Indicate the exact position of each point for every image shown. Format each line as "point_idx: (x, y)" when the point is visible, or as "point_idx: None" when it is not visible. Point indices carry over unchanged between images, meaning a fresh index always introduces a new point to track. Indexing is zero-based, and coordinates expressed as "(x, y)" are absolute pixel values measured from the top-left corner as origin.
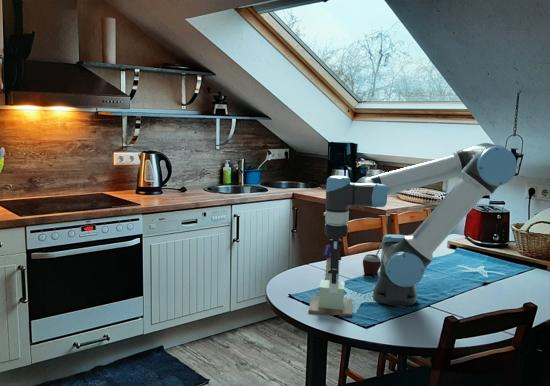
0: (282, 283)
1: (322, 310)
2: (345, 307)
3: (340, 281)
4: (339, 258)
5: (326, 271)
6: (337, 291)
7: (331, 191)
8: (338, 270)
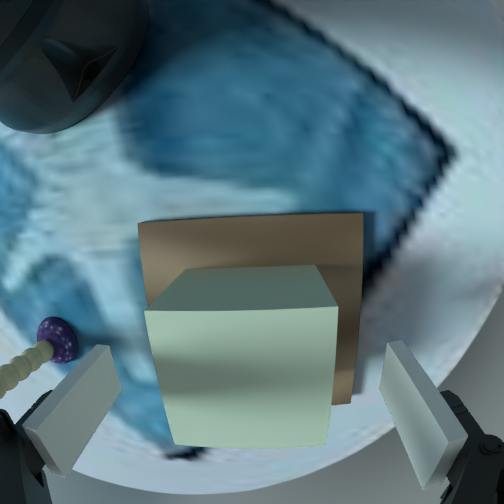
0: (89, 460)
1: (345, 355)
2: (277, 252)
3: (155, 339)
4: (6, 435)
5: (16, 384)
6: (406, 347)
7: None
8: (77, 385)
